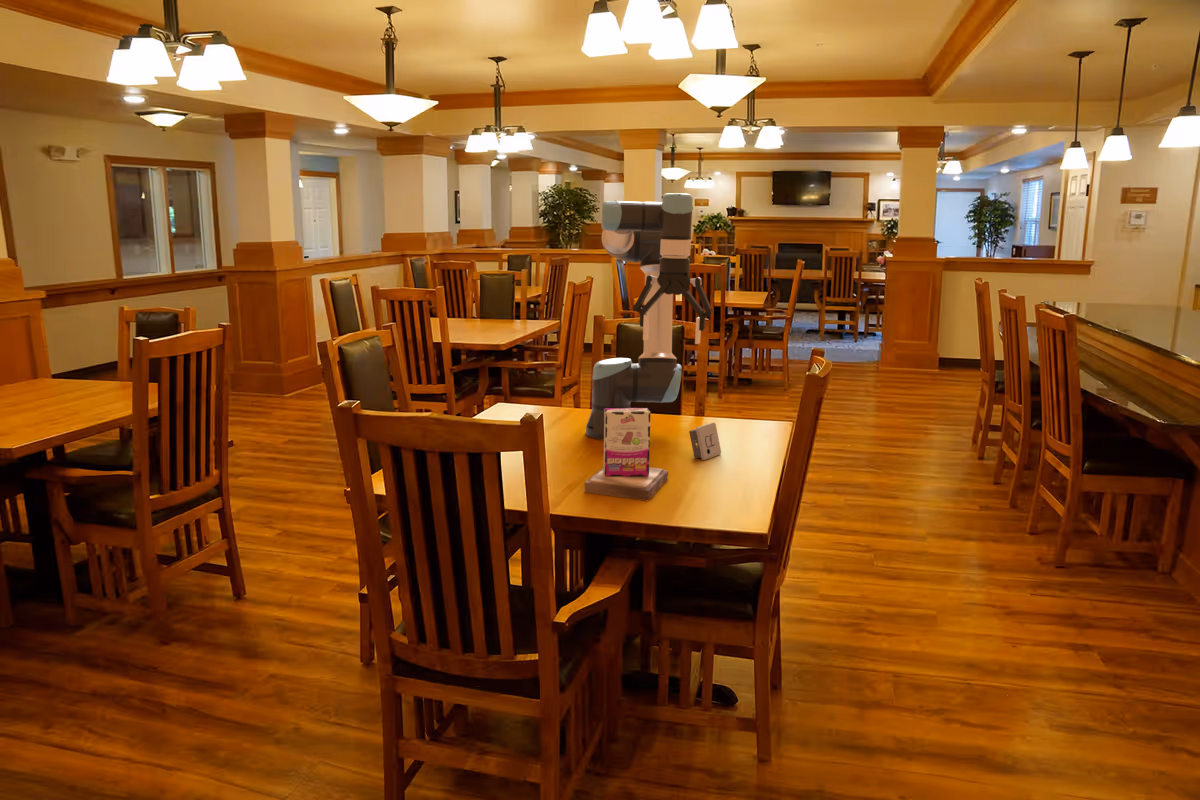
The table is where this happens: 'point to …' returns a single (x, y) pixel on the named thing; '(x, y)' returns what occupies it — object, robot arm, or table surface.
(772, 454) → the table surface
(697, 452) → the electrical switch
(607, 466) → the candy bar box
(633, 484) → the pale flat square slab
